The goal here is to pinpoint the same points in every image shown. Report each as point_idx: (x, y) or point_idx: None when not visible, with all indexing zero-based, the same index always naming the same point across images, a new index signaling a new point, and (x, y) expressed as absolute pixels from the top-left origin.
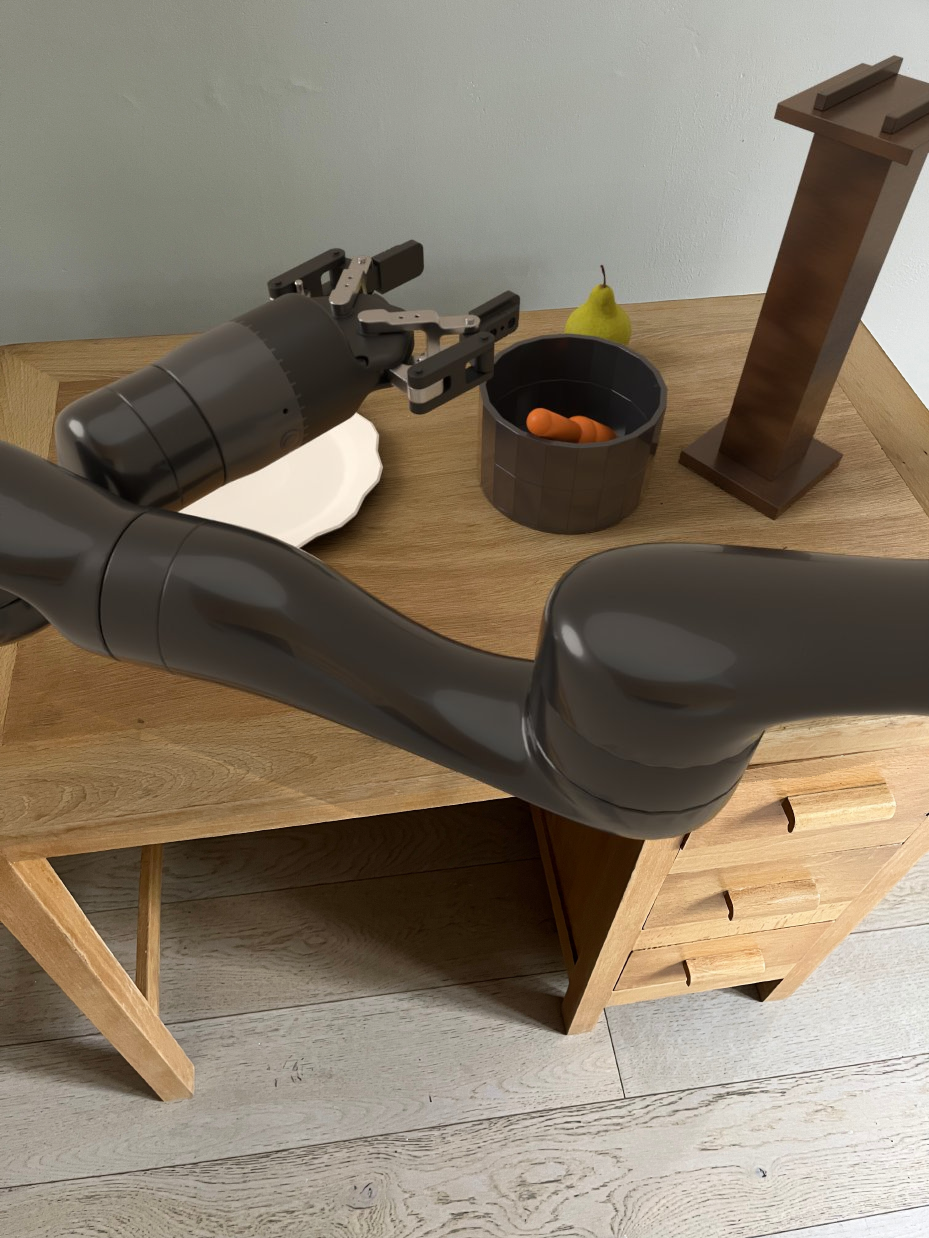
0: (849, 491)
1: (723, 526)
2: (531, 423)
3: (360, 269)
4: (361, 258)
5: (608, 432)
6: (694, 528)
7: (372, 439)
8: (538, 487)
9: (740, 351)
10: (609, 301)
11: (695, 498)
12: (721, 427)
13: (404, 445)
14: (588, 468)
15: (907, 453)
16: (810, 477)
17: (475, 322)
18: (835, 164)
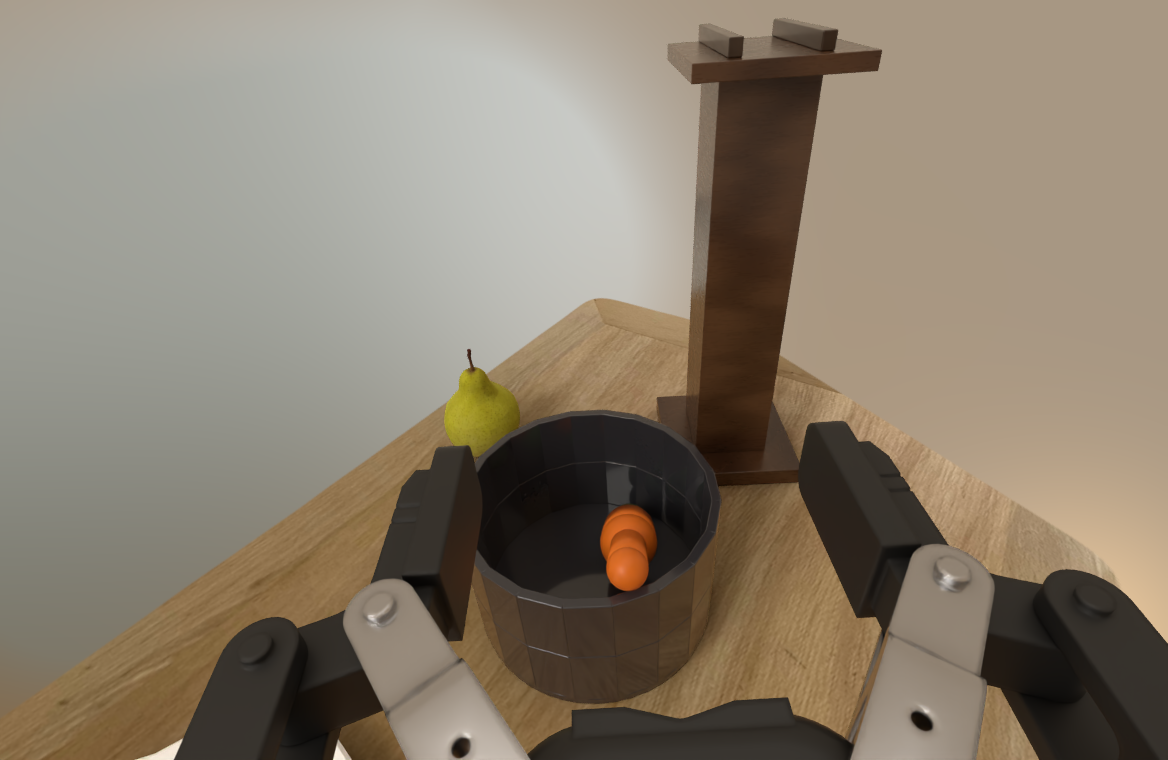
0: (800, 417)
1: (780, 520)
2: (628, 581)
3: (419, 652)
4: (380, 606)
5: (642, 511)
6: (766, 543)
7: (334, 757)
8: (652, 645)
9: (589, 363)
10: (486, 380)
11: (726, 511)
12: None
13: (377, 714)
14: (702, 576)
15: (784, 364)
16: (779, 425)
17: (973, 567)
18: (754, 117)
